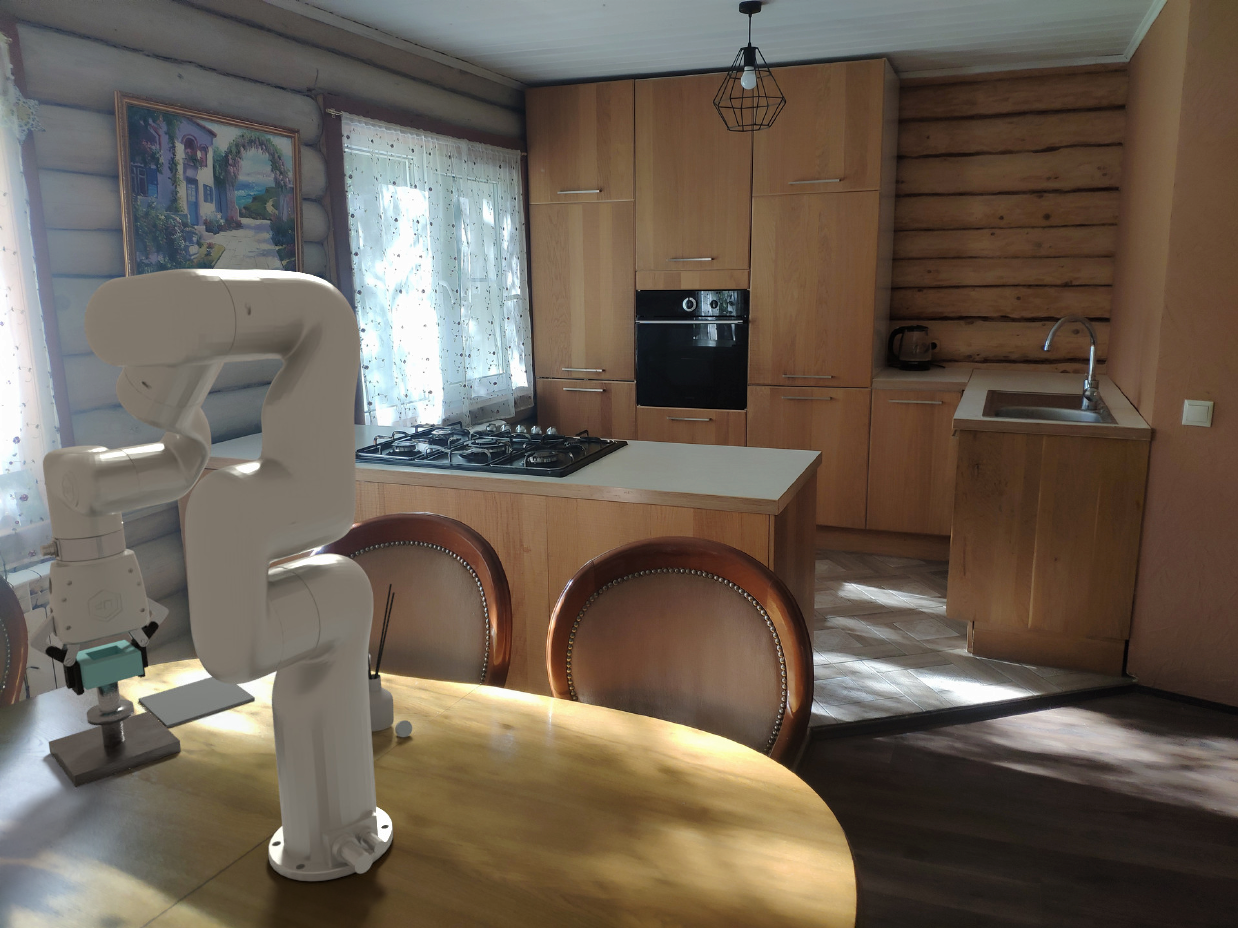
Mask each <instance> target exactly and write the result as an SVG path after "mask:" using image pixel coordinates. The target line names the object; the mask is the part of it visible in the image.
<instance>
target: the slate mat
mask: <svg viewBox="0 0 1238 928" xmlns="http://www.w3.org/2000/svg"><path fill="white" fill-rule="evenodd" d="M255 699H256V697H255V696H253V695H252V694H250V693H249V692H248V691H246V690H245V689H244V688H242V687H241V686H239V684H227V683H223V682H220V681H218V680H216V679H215V678H213V677H212V676H210V677H207V678H204V679H200V680H197V681H194V682H190V683H187V684H186V683H185V684H183V685H180V686H177V687H174V688H169V689H167V690H163V691H159V692H156V693H154V694H150V695H147V696H143V697H139V698H138V703H140V704H141V705H142V706H143V707H145V708H146V710H147V711H149V712H150V713H151V714H152V715H153V716H154V717H155V718H156V719H158V720H159V721H160V722H161V723H162V724H163V725H164V726H165V727H166V728H167V729H169V728H174V727H175V726H179V725H181V724H184V723H185V724H186V723H188V722H192V721H194V720H198V719H201V718H203V717H207V716H209V715H214V714H215V713H216V714H217V713H219V712H223V711H225V710H228V709H230V708H235V707H237V706H240V705H243V704H244V705H245V704H246V703H250V702H253V701H255Z"/></svg>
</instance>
